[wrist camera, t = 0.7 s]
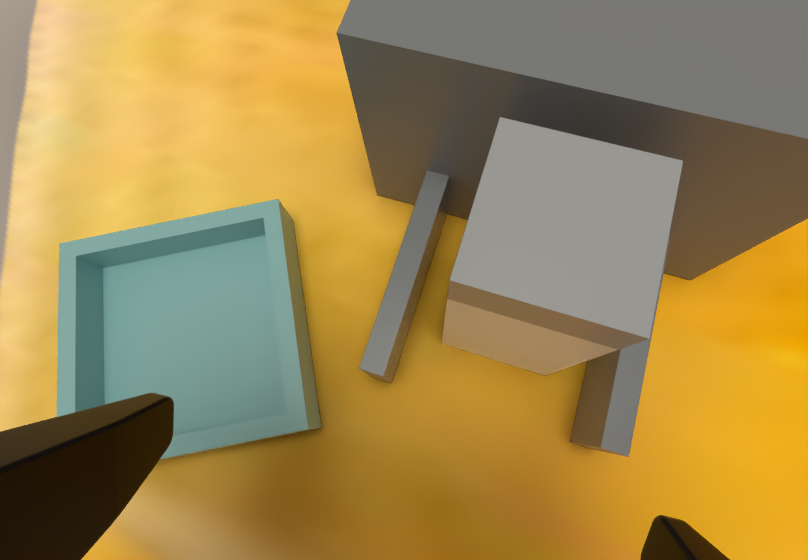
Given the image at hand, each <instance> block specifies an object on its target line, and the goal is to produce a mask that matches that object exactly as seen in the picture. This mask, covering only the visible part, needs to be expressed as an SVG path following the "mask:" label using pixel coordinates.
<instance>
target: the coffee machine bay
mask: <svg viewBox="0 0 808 560" xmlns="http://www.w3.org/2000/svg"><path fill="white" fill-rule="evenodd" d="M337 36H338V40H339V44H340V48H341V52H342V56H343V60H344V64H345V68H346V72H347V76H348V80H349V84H350V88H351V92H352V96H353V100H354V104H355V108H356V112H357V116H358V120H359V124H360V128H361V132H362V136H363V140H364V144H365V148H366V152H367V156H368V160H369V164H370V168H371V172H372V176H373V180H374V184H375V188H376V192H377V195H379V196H383V197H387V198H390V199H394V200H398V201H401V202H405V203H409V204H412V205H415V207H414V210H413V213H412V216H411V218H410V221H409V224H408V227H407V230H406V233H405V236H404V239H403V242H402V245H401V248H400V250H399V253H398V256H397V259H396V262H395V265H394V268H393V271H392V274H391V277H390V280H389V282H388V285H387V288H386V291H385V294H384V297H383V300H382V303H381V306H380V309H379V312H378V314H377V317H376V320H375V323H374V326H373V329H372V332H371V335H370V338H369V341H368V344H367V346H366V349H365V352H364V355H363V358H362V361H361V364H360V367H359V369H361V370H362V371H364V372H365V373H367V374H368V375H370V376H371V377H374V378H377V379H380V380H383V381H386V382H390V383H392V380H393V377H394V374H395V371H396V368H397V365H398V362H399V359H400V356H401V353H402V349H403V346H404V343H405V340H406V337H407V334H408V331H409V328H410V325H411V322H412V319H413V315H414V312H415V309H416V306H417V303H418V300H419V297H420V294H421V291H422V288H423V285H424V281H425V278H426V275H427V272H428V269H429V266H430V263H431V260H432V257H433V254H434V251H435V247H436V244H437V241H438V238H439V235H440V232H441V229H442V226H443V223H444V220H445V217H446V214H449V215H453V216H456V217H460V218H464V219H467V220H468V219H469V216H470V212H471V209H472V206H473V203H474V199H475V196H476V193H477V190H478V187H479V183H480V180H481V177H482V174H483V170H484V167H485V164H486V161H487V157H488V154H489V151H490V148H491V145H492V141H493V138H494V135H495V132H496V128H497V125H498V122H499V119H500V117H502V118H506V119H510V120H515V121H519V122H523V123H527V124H531V125H536V126H540V127H544V128H548V129H552V130H556V131H561V132H565V133H569V134H573V135H577V136H582V137H586V138H590V139H594V140H598V141H603V142H607V143H611V144H615V145H619V146H623V147H628V148H632V149H636V150H640V151H644V152H649V153H653V154H657V155H661V156H665V157H669V158H674V159H678V160H682V161H683V164H682V170H681V175H680V180H679V185H678V191H677V196H676V201H675V206H674V212H673V217H672V222H671V227H670V233H669V238H668V243H667V248H666V254H665V259H664V264H663V269H662V275H661V280H660V285H659V290H658V296H657V301H656V306H655V311H654V317H653V322H652V327H651V332H650V338H649V339H647V340H644V341H641V342H639V343H636V344H633V345H630V346H627V347H625V348H622V349H619V350H616V351H613V352H611V353H608V354H605V355H602V356H599V357H597V358H594V359H591V360H588V363H587V368H586V372H585V377H584V381H583V386H582V390H581V395H580V399H579V404H578V408H577V413H576V417H575V422H574V426H573V431H572V435H571V440H570V442H572V443H575V444H578V445H581V446H584V447H587V448H590V449H593V450H598V451H603V452H608V453H612V454H617V455H622V456H627V457H629V452H630V447H631V441H632V436H633V431H634V426H635V420H636V415H637V410H638V404H639V399H640V394H641V389H642V383H643V378H644V373H645V367H646V362H647V357H648V352H649V346H650V341H651V336H652V330H653V325H654V320H655V315H656V309H657V304H658V299H659V293H660V288H661V283H662V278H663V273H666V274H669V275H673V276H677V277H680V278H684V279H688V280H692V279H694V278H696V277H697V276H699V275H701V274H703V273H705V272H707V271H709V270H711V269H713V268H715V267H716V266H718V265H720V264H722V263H724V262H726V261H728V260H730V259H732V258H734V257H735V256H737V255H739V254H741V253H743V252H745V251H747V250H749V249H751V248H752V247H754V246H756V245H758V244H760V243H762V242H764V241H766V240H768V239H770V238H771V237H773V236H775V235H777V234H779V233H781V232H783V231H785V230H787V229H789V228H790V227H792V226H794V225H796V224H798V223H800V222H802V221H804V220H806V219H807V218H808V0H351V1H350V3H349V6H348V8H347V10H346V12H345V15H344V17H343V19H342V22H341V24H340V26H339V29H338V31H337Z"/></svg>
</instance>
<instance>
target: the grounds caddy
mask: <svg viewBox="0 0 808 560" xmlns="http://www.w3.org/2000/svg"><path fill="white" fill-rule="evenodd" d="M682 164H683V161H682V160H678V159H674V158H669V157H665V156H661V155H657V154H653V153H649V152H644V151H640V150H636V149H632V148H628V147H623V146H619V145H615V144H611V143H607V142H603V141H598V140H594V139H590V138H586V137H582V136H577V135H573V134H569V133H565V132H561V131H556V130H552V129H548V128H544V127H540V126H536V125H531V124H527V123H523V122H519V121H515V120H510V119H506V118H502V117H500V119H499V122H498V125H497V128H496V132H495V135H494V138H493V141H492V145H491V148H490V151H489V154H488V157H487V161H486V164H485V167H484V170H483V174H482V177H481V180H480V183H479V187H478V190H477V193H476V196H475V199H474V203H473V206H472V209H471V212H470V216H469V219H468V222H467V225H466V229H465V232H464V235H463V238H462V241H461V245H460V248H459V251H458V254H457V258H456V261H455V264H454V267H453V271H452V274H451V277H450V280H449V288H448V296H447V304H446V313H445V321H444V329H443V337H442V344H445V345H448V346H451V347H454V348H458V349H461V350H464V351H467V352H470V353H474V354H477V355H480V356H483V357H486V358H490V359H493V360H496V361H499V362H502V363H506V364H509V365H512V366H515V367H519V368H522V369H525V370H528V371H531V372H535V373H538V374H541V375H544V376H546V375H549V374H552V373H555V372H557V371H560V370H563V369H566V368H569V367H571V366H574V365H577V364H580V363H583V362H585V361H588V360H591V359H594V358H597V357H599V356H602V355H605V354H608V353H611V352H613V351H616V350H619V349H622V348H625V347H627V346H630V345H633V344H636V343H639V342H641V341H644V340H647V339H649V338H650V332H651V327H652V322H653V317H654V311H655V306H656V301H657V296H658V290H659V285H660V280H661V275H662V269H663V264H664V259H665V254H666V248H667V243H668V238H669V233H670V227H671V222H672V217H673V212H674V206H675V201H676V196H677V191H678V185H679V180H680V175H681V170H682Z"/></svg>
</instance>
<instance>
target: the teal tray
mask: <svg viewBox="0 0 808 560" xmlns="http://www.w3.org/2000/svg"><path fill="white" fill-rule="evenodd" d="M147 393H157V394H161V395H165V396H169V397H171V398H172V399H173V402H174V427H173V438H172V441H171V443H170V445H169V447H168V449H167V450H166V451H165V453H164V454H163V456H162V457H161V458H160V460H164V459H169V458H174V457H179V456H184V455H189V454H194V453H199V452H204V451H209V450H214V449H219V448H224V447H228V446H233V445H238V444H243V443H248V442H253V441H258V440H263V439H268V438H273V437H278V436H283V435H288V434H293V433H297V432H302V431H307V430H312V429H317V428H322V426H321V419H320V412H319V405H318V397H317V390H316V383H315V376H314V368H313V361H312V354H311V347H310V339H309V332H308V325H307V318H306V310H305V303H304V296H303V289H302V281H301V274H300V267H299V260H298V252H297V245H296V238H295V230H294V223H293V219H292V218H291V216H290V215H289V214H288V212H287V211H286V209H285V208H284V207H283V205H282V204H281V202H280V201H279V200H278V199H276V200H271V201H266V202H261V203H257V204H252V205H247V206H242V207H237V208H232V209H227V210H222V211H217V212H212V213H207V214H203V215H198V216H193V217H188V218H183V219H178V220H173V221H168V222H163V223H158V224H153V225H149V226H144V227H139V228H134V229H129V230H124V231H119V232H114V233H109V234H104V235H99V236H95V237H90V238H85V239H80V240H75V241H70V242H65V243H60V244H59V305H58V367H57V417H59V416H63V415H66V414H70V413H74V412H78V411H82V410H86V409H89V408H93V407H97V406H101V405H105V404H109V403H113V402H116V401H120V400H124V399H128V398H132V397H136V396H139V395H143V394H147ZM160 460H159V461H160Z"/></svg>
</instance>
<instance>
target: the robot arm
mask: <svg viewBox="0 0 808 560" xmlns="http://www.w3.org/2000/svg"><path fill="white" fill-rule="evenodd" d="M173 427H174V402H173V399H172V398H171V397H169V396H165V395H161V394H157V393H147V394H143V395H139V396H136V397H132V398H128V399H124V400H120V401H116V402H113V403H109V404H105V405H101V406H97V407H93V408H89V409H86V410H82V411H78V412H74V413H70V414H66V415H63V416H59V417H55V418H51V419H47V420H43V421H40V422H36V423H32V424H28V425H24V426H20V427H17V428H13V429H9V430H5V431H1V432H0V560H81V559H82V558H83V557H84V556H85V554H86V553H87V552H88V551H89V550H90V549H91V547H92V546H93V545H94V544H95V543H96V542H97V541H98V539H99V538H100V537H101V536H102V535H103V534H104V533H105V531H106V530H107V529H108V528H109V527H110V526H111V524H112V523H113V522H114V521H115V520H116V518H117V517H118V516H119V515H120V513H121V512H122V511H123V509H124V508H125V507H126V505H127V504H128V503H129V501H130V500H131V499H132V497H133V496H134V494H135V493H136V492H137V490H138V489H139V487H140V486H141V485H142V483H143V482H144V481H145V479H146V478H147V476H148V475H149V474H150V472H151V471H152V469H153V468H154V467H155V465H156V464H157V462H158V461H159V460H160V458H161V457H162V456H163V454H164V453H165V451H166V450H167V449H168V447H169V445H170V443H171V441H172V438H173ZM641 560H730V559H728V558H727V557H726V556H725V555H724V554H722V553H721V552H720V551H719V550H718V549H717V548H715V547H714V546H713V545H712V544H711V543H710V542H708V541H707V540H706V539H705V538H704V537H702V536H701V535H700V534H699V533H698V532H697V531H695V530H694V529H693V528H692V527H691V526H690V525H688V524H687V523H686V522H685V521H683V520H680V519H676V518H671V517H667V516H663V515H659V516H657V517H656V518H655V519H654V520H653V522H652V525H651V528H650V530H649V533H648V536H647V539H646V541H645V544H644V547H643V549H642V553H641Z"/></svg>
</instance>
